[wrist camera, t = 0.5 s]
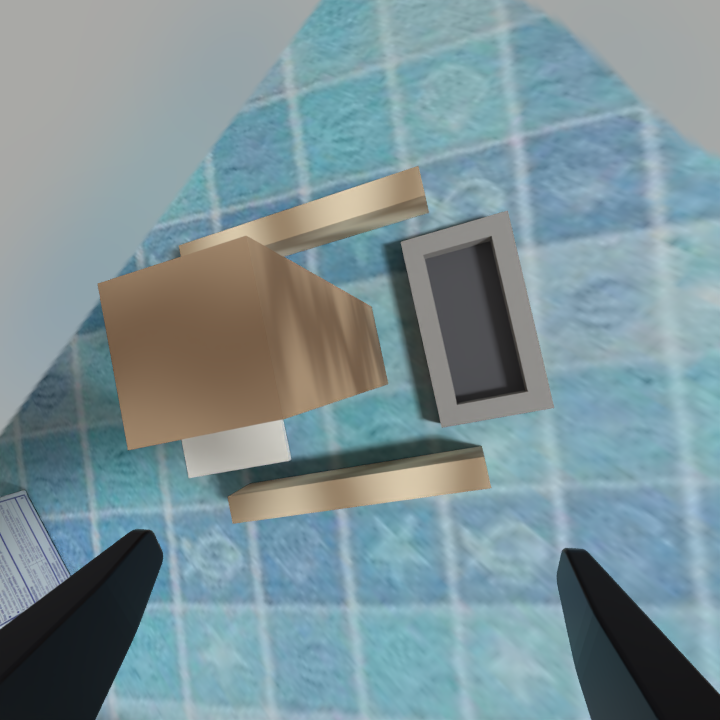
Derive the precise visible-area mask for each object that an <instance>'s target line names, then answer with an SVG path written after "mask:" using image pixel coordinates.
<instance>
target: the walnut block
mask: <svg viewBox="0 0 720 720" xmlns="http://www.w3.org/2000/svg"><path fill="white" fill-rule="evenodd" d="M98 289H99V294H100V300H101V305H102V311H103V316H104V322H105V327H106V333H107V338H108V343H109V349H110V354H111V360H112V365H113V371H114V376H115V382H116V387H117V393H118V398H119V403H120V409H121V414H122V420H123V425H124V431H125V436H126V442H127V447H128V450H132V449H137V448H142V447H147V446H152V445H157V444H162V443H167V442H172V441H177V440H182V439H187V438H192V437H197V436H202V435H207V434H212V433H217V432H222V431H227V430H232V429H237V428H242V427H247V426H252V425H257V424H262V423H267V422H272V421H277V420H282V419H286V418H289V417H292V416H295V415H298V414H301V413H304V412H307V411H309V410H312V409H315V408H318V407H321V406H324V405H327V404H330V403H333V402H336V401H339V400H342V399H345V398H348V397H351V396H354V395H357V394H360V393H363V392H366V391H369V390H372V389H375V388H378V387H381V386H384V385H387V384H388V380H387V376H386V371H385V366H384V362H383V357H382V353H381V348H380V343H379V339H378V334H377V329H376V325H375V320H374V316H373V311H372V307H371V306H370V305H368V304H366V303H364V302H362V301H361V300H359V299H357V298H355V297H354V296H352V295H350V294H348V293H347V292H345V291H343V290H341V289H340V288H338V287H336V286H334V285H333V284H331V283H329V282H327V281H325V280H324V279H322V278H320V277H318V276H317V275H315V274H313V273H311V272H310V271H308V270H306V269H304V268H303V267H301V266H299V265H297V264H296V263H294V262H292V261H290V260H289V259H287V258H285V257H283V256H281V255H280V254H278V253H276V252H274V251H273V250H271V249H269V248H267V247H266V246H264V245H262V244H260V243H259V242H257V241H255V240H253V239H252V238H250V237H248V236H243V237H240V238H237V239H234V240H231V241H228V242H225V243H222V244H219V245H215V246H212V247H209V248H206V249H203V250H200V251H197V252H194V253H191V254H188V255H185V256H182V257H178V258H175V259H172V260H169V261H166V262H163V263H160V264H157V265H154V266H151V267H148V268H145V269H141V270H138V271H135V272H132V273H129V274H126V275H123V276H120V277H117V278H114V279H111V280H108V281H105V282H102V283H98Z"/></svg>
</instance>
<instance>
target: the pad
mask: <svg viewBox="0 0 720 720" xmlns="http://www.w3.org/2000/svg"><path fill="white" fill-rule="evenodd" d="M182 445H183V450H184V455H185V461H186V466H187V471H188V476H189V478H193V477H198V476H204V475H210V474H216V473H222V472H227V471H233V470H239V469H245V468H251V467H256V466H262V465H268V464H274V463H280V462H285V461H290V460H291V456H290V451H289V446H288V441H287V436H286V431H285V426H284V421H283V419H282V420H277V421H272V422H267V423H262V424H257V425H252V426H247V427H242V428H237V429H232V430H227V431H222V432H217V433H212V434H207V435H202V436H197V437H192V438H187V439H182Z"/></svg>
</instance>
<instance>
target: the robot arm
mask: <svg viewBox="0 0 720 720" xmlns="http://www.w3.org/2000/svg"><path fill="white" fill-rule="evenodd" d="M162 561H163V552H162V549H161V547H160V545H159V543H158V541H157V539H156V536H155V534H154V533H153V531H151V530H144V529H135V530H132V531H131V532H129V533H128V534H126V535H125V536H124V537H122V538H121V539H120V540H118V541H117V542H116V543H114V544H113V545H112V546H110V547H109V548H108V549H106V550H105V551H104V552H102V553H101V554H100V555H98V556H97V557H96V558H94V559H93V560H92V561H90V562H89V563H88V564H86V565H85V566H84V567H82V568H81V569H80V570H78V571H77V572H76V573H74V574H73V575H72V576H70V577H69V578H68V579H66V580H65V581H64V582H62V583H61V584H60V585H58V586H57V587H56V588H54V589H53V590H52V591H50V592H49V593H48V594H46V595H45V596H44V597H42V598H41V599H40V600H38V601H37V602H36V603H34V604H33V605H32V606H30V607H29V608H28V609H26V610H25V611H24V612H22V613H21V614H20V615H18V616H17V617H16V618H14V619H13V620H12V621H10V622H9V623H8V624H6V625H5V626H4V627H2V628H1V629H0V720H95V719H96V717H97V715H98V713H99V711H100V709H101V706H102V704H103V702H104V700H105V698H106V696H107V694H108V692H109V690H110V687H111V685H112V683H113V681H114V679H115V677H116V675H117V673H118V671H119V668H120V666H121V664H122V662H123V660H124V658H125V656H126V654H127V651H128V649H129V647H130V645H131V643H132V641H133V638H134V636H135V634H136V632H137V629H138V627H139V624H140V622H141V619H142V616H143V614H144V611H145V608H146V605H147V603H148V600H149V597H150V595H151V592H152V589H153V587H154V584H155V581H156V578H157V576H158V573H159V570H160V568H161V565H162ZM557 585H558V590H559V595H560V600H561V604H562V609H563V614H564V618H565V623H566V628H567V632H568V637H569V642H570V646H571V651H572V656H573V660H574V664H575V668H576V672H577V675H578V679H579V682H580V686H581V689H582V692H583V695H584V698H585V701H586V704H587V707H588V711H589V714H590V717H591V720H720V694H719V693H718V692H717V691H716V690H715V689H714V688H713V686H712V685H711V684H710V683H709V682H708V681H707V680H706V679H705V678H704V677H703V676H702V675H701V673H700V672H699V671H698V670H697V669H696V668H695V667H694V666H693V665H692V664H691V663H690V662H689V661H688V659H687V658H686V657H685V656H684V655H683V654H682V653H681V652H680V651H679V650H678V649H677V648H676V646H675V645H674V644H673V643H672V642H671V641H670V640H669V639H668V638H667V637H666V636H665V635H664V634H663V632H662V631H661V630H660V629H659V628H658V627H657V626H656V625H655V624H654V623H653V622H652V621H651V619H650V618H649V617H648V616H647V615H646V614H645V613H644V612H643V611H642V610H641V609H640V608H639V607H638V605H637V604H636V603H635V602H634V601H633V600H632V599H631V598H630V597H629V596H628V595H627V594H626V592H625V591H624V590H623V589H622V588H621V587H620V586H619V585H618V584H617V583H616V582H615V581H614V580H613V578H612V577H611V576H610V575H609V574H608V573H607V572H606V571H605V570H604V569H603V568H602V567H601V566H600V564H599V563H598V562H597V561H596V560H595V559H594V558H593V557H592V556H591V555H590V554H589V553H588V552H587V551H586V550H584V549H576V548H565V549H563V550H562V553H561V557H560V561H559V566H558V570H557Z"/></svg>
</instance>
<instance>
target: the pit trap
mask: <svg viewBox="0 0 720 720" xmlns="http://www.w3.org/2000/svg"><path fill="white" fill-rule="evenodd" d="M401 246H402V251H403V255H404V260H405V264H406V269H407V273H408V278H409V282H410V287H411V291H412V296H413V300H414V305H415V309H416V314H417V318H418V323H419V327H420V332H421V336H422V341H423V345H424V350H425V354H426V359H427V363H428V368H429V372H430V377H431V381H432V386H433V390H434V395H435V399H436V404H437V408H438V413H439V417H440V422H441V426H442V428H443V427H448V426H454V425H460V424H465V423H471V422H477V421H482V420H488V419H494V418H499V417H505V416H511V415H516V414H522V413H528V412H533V411H539V410H545V409H550V408H554V405H553V401H552V396H551V392H550V388H549V384H548V379H547V375H546V371H545V367H544V362H543V358H542V354H541V350H540V345H539V341H538V337H537V333H536V329H535V324H534V320H533V316H532V312H531V307H530V303H529V299H528V295H527V290H526V286H525V282H524V278H523V273H522V269H521V265H520V261H519V256H518V252H517V248H516V244H515V240H514V235H513V231H512V227H511V223H510V218H509V214H508V211H505V212H501V213H498V214H494V215H491V216H488V217H484V218H481V219H477V220H474V221H470V222H467V223H463V224H460V225H457V226H453V227H450V228H446V229H443V230H439V231H436V232H433V233H429V234H426V235H422V236H419V237H415V238H412V239H408V240H405V241H402V242H401Z"/></svg>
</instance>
